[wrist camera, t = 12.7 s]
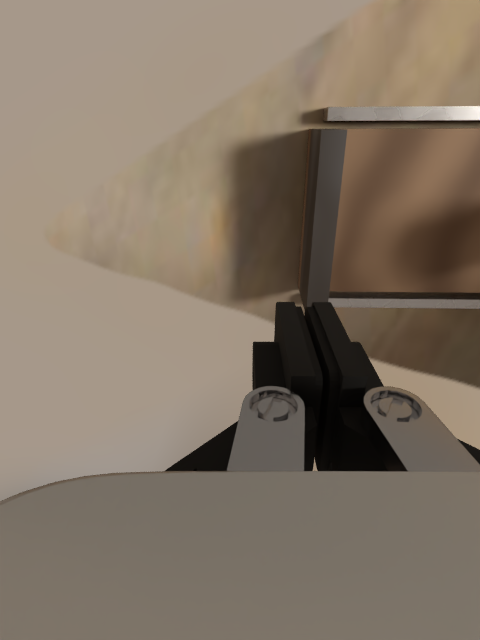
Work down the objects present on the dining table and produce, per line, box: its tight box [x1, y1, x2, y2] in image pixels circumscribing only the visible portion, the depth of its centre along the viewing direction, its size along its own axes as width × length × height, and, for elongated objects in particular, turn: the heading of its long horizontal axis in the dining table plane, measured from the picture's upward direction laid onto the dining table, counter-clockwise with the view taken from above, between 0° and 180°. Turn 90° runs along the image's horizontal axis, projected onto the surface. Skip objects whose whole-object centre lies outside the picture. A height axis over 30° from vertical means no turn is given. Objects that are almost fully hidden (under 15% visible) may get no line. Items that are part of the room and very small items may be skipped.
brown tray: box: [298, 128, 480, 309], centre depth 27 cm, size 24×12×6 cm, turn 90°
